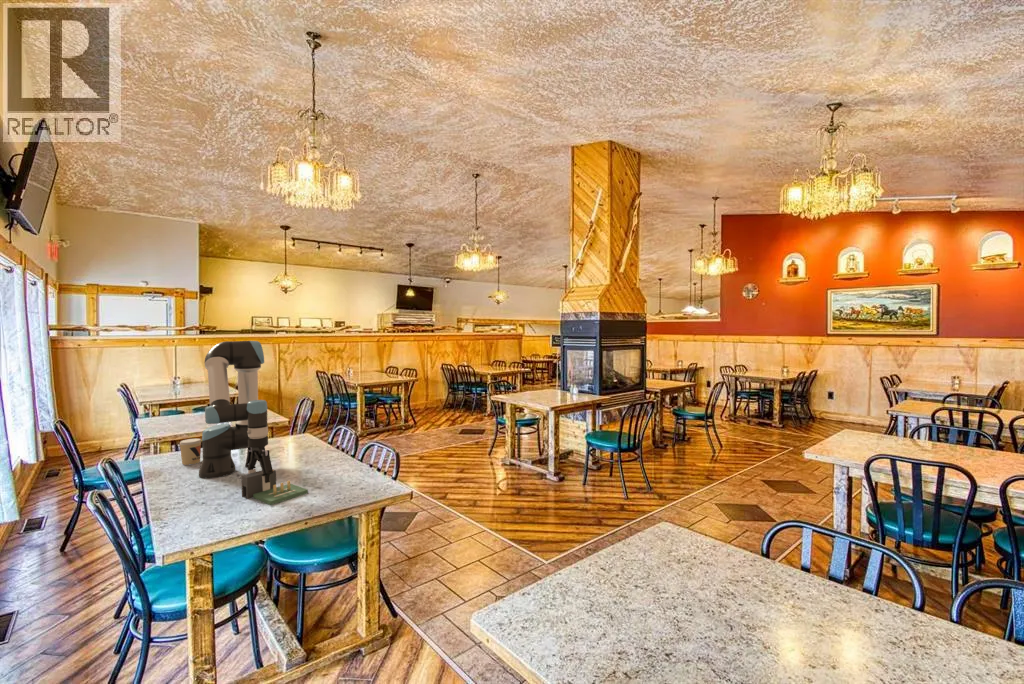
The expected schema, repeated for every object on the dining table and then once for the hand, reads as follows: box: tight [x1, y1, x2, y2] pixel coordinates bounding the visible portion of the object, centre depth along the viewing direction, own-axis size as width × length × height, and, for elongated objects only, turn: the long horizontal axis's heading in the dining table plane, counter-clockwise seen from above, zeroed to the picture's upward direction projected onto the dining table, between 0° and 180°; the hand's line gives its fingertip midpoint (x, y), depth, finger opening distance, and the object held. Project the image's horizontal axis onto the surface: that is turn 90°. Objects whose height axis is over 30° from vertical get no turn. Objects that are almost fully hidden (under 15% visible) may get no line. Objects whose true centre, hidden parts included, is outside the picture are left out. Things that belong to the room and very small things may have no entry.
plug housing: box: [240, 468, 277, 500], centre depth 195 cm, size 5×12×9 cm, turn 145°
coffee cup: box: [179, 438, 202, 466], centre depth 241 cm, size 9×9×12 cm
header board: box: [252, 480, 309, 506], centre depth 193 cm, size 14×16×6 cm
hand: (259, 487), depth 195 cm, fingers open, 11 cm apart
